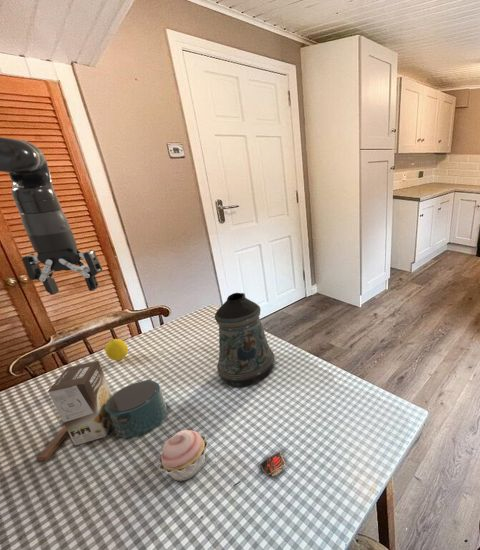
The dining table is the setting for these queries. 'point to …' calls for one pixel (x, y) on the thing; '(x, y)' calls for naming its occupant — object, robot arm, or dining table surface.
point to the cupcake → (183, 455)
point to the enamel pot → (136, 408)
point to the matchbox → (273, 464)
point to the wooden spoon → (53, 444)
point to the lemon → (116, 349)
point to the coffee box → (83, 401)
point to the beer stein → (242, 343)
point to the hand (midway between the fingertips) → (74, 291)
